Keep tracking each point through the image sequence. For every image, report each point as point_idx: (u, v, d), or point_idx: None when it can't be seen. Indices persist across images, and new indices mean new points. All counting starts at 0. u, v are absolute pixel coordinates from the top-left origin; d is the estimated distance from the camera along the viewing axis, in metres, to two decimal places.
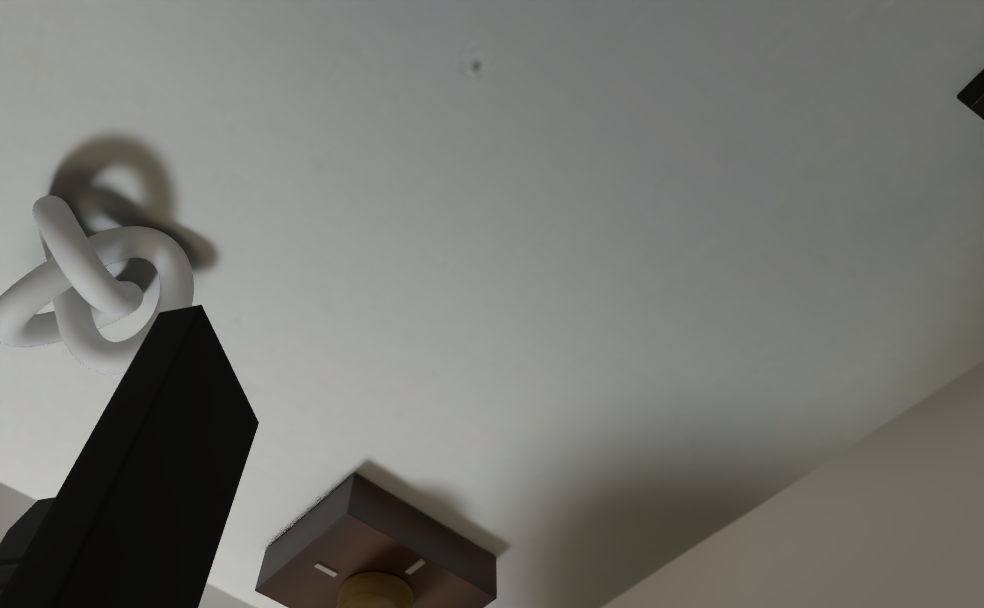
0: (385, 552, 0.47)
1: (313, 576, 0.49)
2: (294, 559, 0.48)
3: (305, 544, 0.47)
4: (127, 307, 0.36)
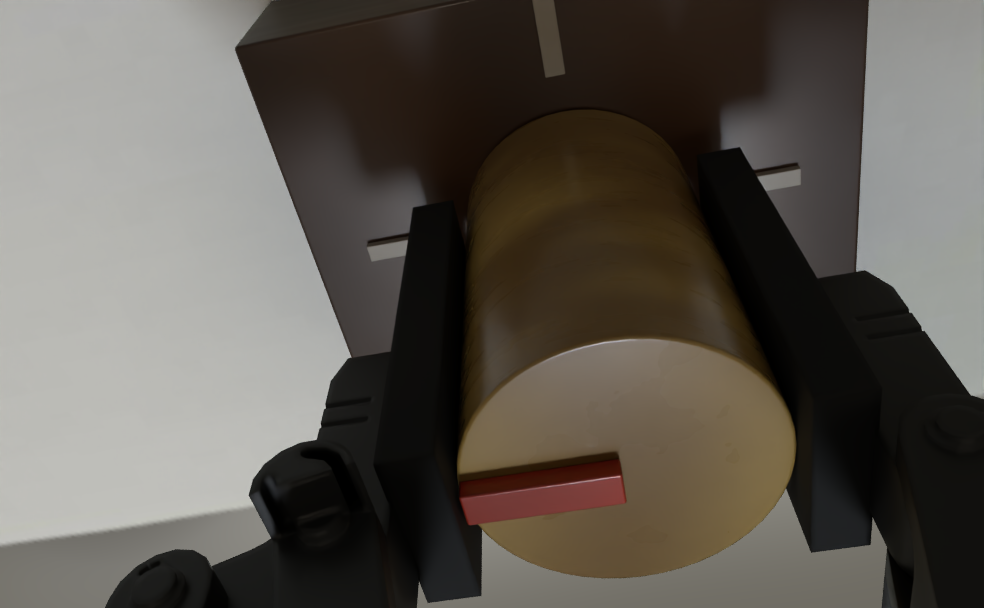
0: (444, 72, 0.15)
1: None
2: (326, 282, 0.18)
3: (309, 232, 0.17)
4: None
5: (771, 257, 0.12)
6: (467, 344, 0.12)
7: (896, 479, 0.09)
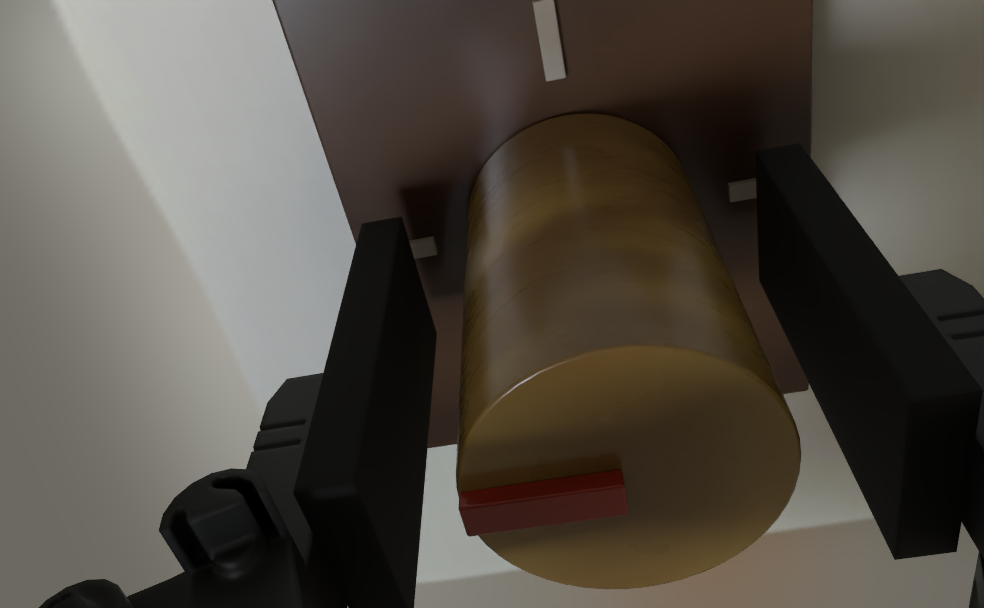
0: (746, 91, 0.15)
1: (486, 46, 0.15)
2: None
3: None
4: None
5: (847, 255, 0.12)
6: (467, 352, 0.12)
7: None
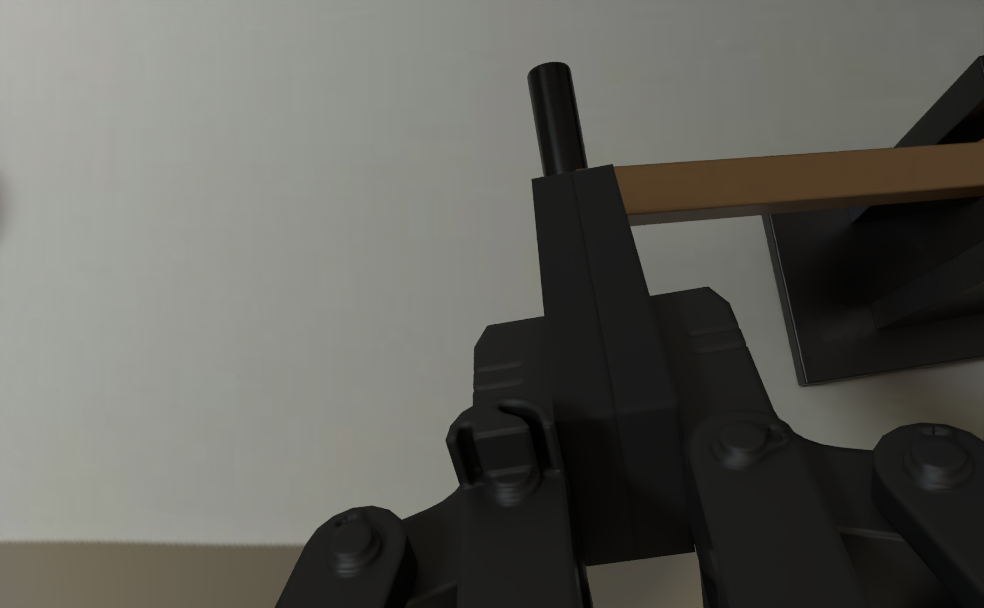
0: None
1: None
2: None
3: None
4: None
5: (613, 274, 0.12)
6: None
7: (691, 490, 0.10)
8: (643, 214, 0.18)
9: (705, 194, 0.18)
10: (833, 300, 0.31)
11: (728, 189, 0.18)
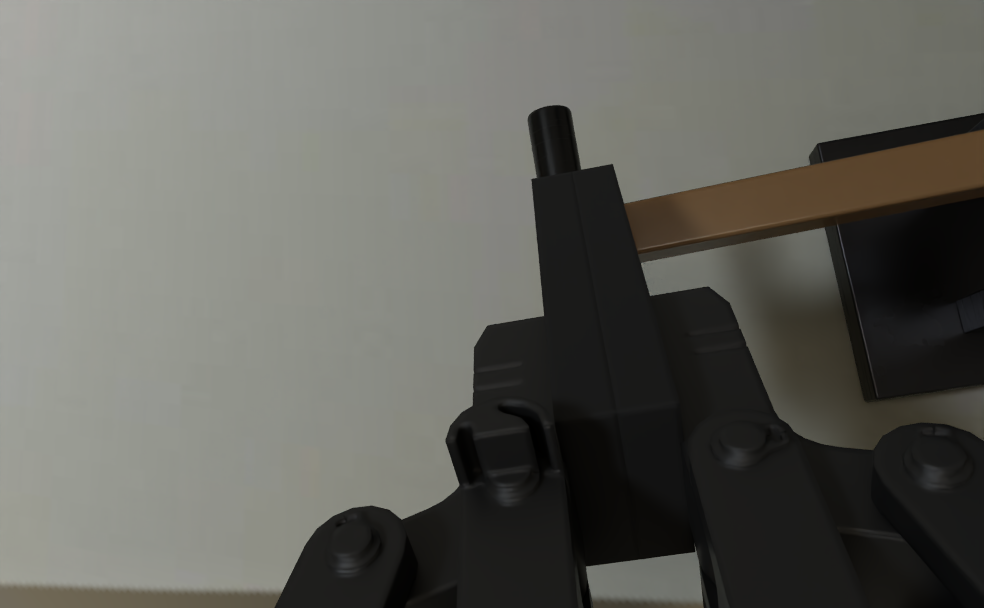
0: None
1: None
2: None
3: None
4: None
5: (613, 274, 0.12)
6: None
7: (691, 490, 0.10)
8: (640, 253, 0.17)
9: (710, 224, 0.17)
10: (909, 296, 0.25)
11: (739, 215, 0.17)
